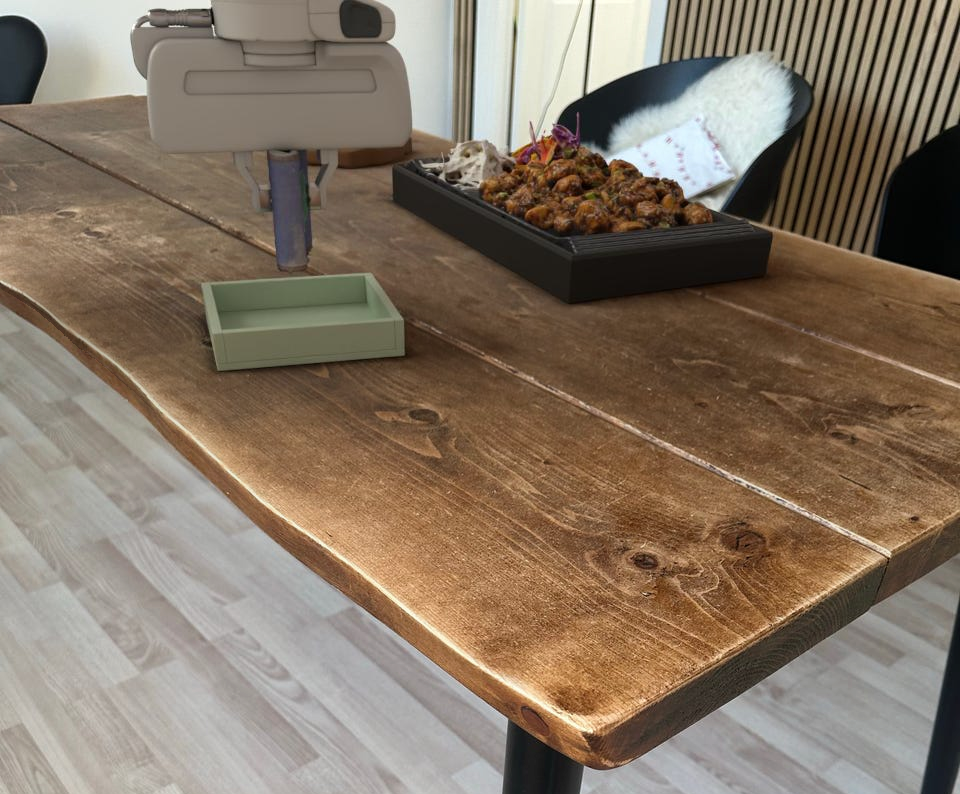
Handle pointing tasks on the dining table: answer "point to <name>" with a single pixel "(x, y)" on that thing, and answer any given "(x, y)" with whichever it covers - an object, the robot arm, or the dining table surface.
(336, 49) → the robot arm
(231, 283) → the tray
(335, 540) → the dining table surface
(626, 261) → the food platter
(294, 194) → the flask
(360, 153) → the plant
